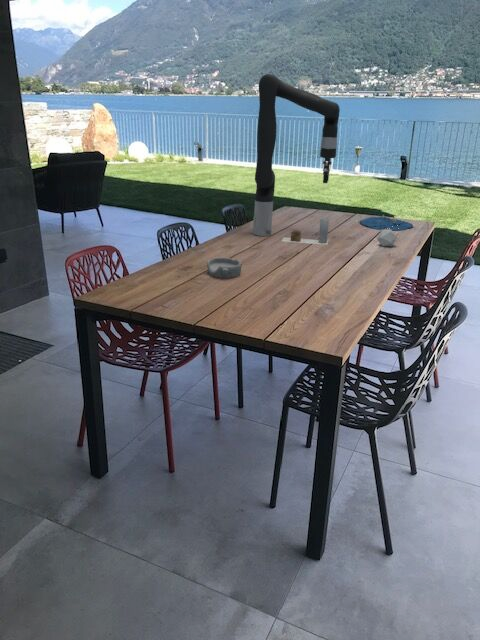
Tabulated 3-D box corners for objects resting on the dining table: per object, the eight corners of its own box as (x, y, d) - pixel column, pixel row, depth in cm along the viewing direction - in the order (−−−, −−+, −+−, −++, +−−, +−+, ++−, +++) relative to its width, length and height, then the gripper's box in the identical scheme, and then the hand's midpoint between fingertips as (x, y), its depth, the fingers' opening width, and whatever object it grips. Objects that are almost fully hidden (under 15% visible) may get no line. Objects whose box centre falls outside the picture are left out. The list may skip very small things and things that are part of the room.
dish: (229, 281, 203) (229, 268, 201) (199, 274, 209) (199, 262, 207) (248, 272, 214) (249, 260, 212) (220, 266, 221) (220, 254, 219)
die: (393, 250, 255) (402, 232, 256) (378, 241, 254) (388, 223, 254) (385, 251, 263) (394, 235, 264) (371, 243, 262) (380, 226, 262)
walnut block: (290, 241, 257) (291, 231, 256) (291, 238, 261) (292, 229, 260) (299, 241, 256) (300, 232, 255) (300, 239, 261) (301, 230, 259)
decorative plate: (419, 234, 292) (421, 225, 290) (365, 232, 292) (366, 222, 290) (405, 221, 319) (406, 212, 317) (355, 218, 319) (356, 210, 317)
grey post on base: (281, 243, 257) (282, 218, 252) (283, 239, 264) (284, 215, 259) (327, 246, 253) (329, 221, 248) (328, 242, 260) (330, 218, 256)
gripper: (321, 145, 260) (318, 179, 267) (319, 148, 248) (316, 183, 254) (337, 146, 259) (333, 180, 265) (336, 148, 246) (332, 184, 252)
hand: (325, 182), depth 260 cm, fingers open, 8 cm apart
